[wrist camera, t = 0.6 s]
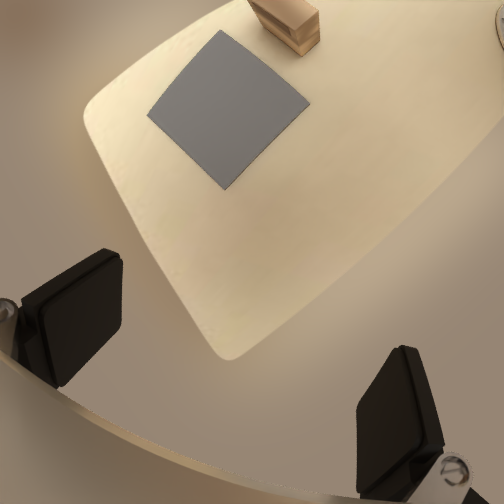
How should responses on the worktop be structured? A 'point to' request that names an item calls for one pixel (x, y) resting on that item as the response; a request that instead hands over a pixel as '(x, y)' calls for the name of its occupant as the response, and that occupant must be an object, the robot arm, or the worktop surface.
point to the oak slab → (290, 22)
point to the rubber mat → (226, 108)
